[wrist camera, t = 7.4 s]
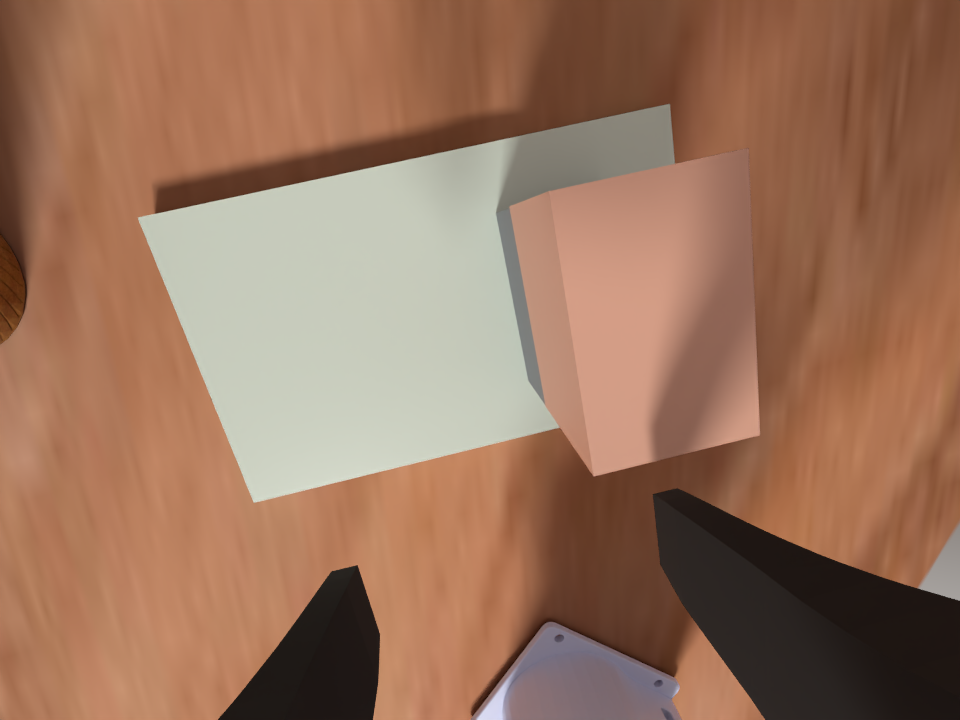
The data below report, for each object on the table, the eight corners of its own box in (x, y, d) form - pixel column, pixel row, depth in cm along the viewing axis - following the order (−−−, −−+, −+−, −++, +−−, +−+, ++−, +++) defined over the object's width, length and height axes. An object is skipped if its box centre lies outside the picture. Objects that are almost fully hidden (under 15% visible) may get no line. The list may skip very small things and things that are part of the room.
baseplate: (656, 110, 18) (670, 103, 17) (682, 387, 21) (694, 394, 21) (154, 218, 17) (137, 217, 16) (262, 490, 21) (253, 502, 20)
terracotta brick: (644, 176, 15) (748, 148, 10) (664, 378, 17) (759, 435, 12) (509, 206, 14) (549, 190, 10) (545, 406, 16) (593, 476, 12)
